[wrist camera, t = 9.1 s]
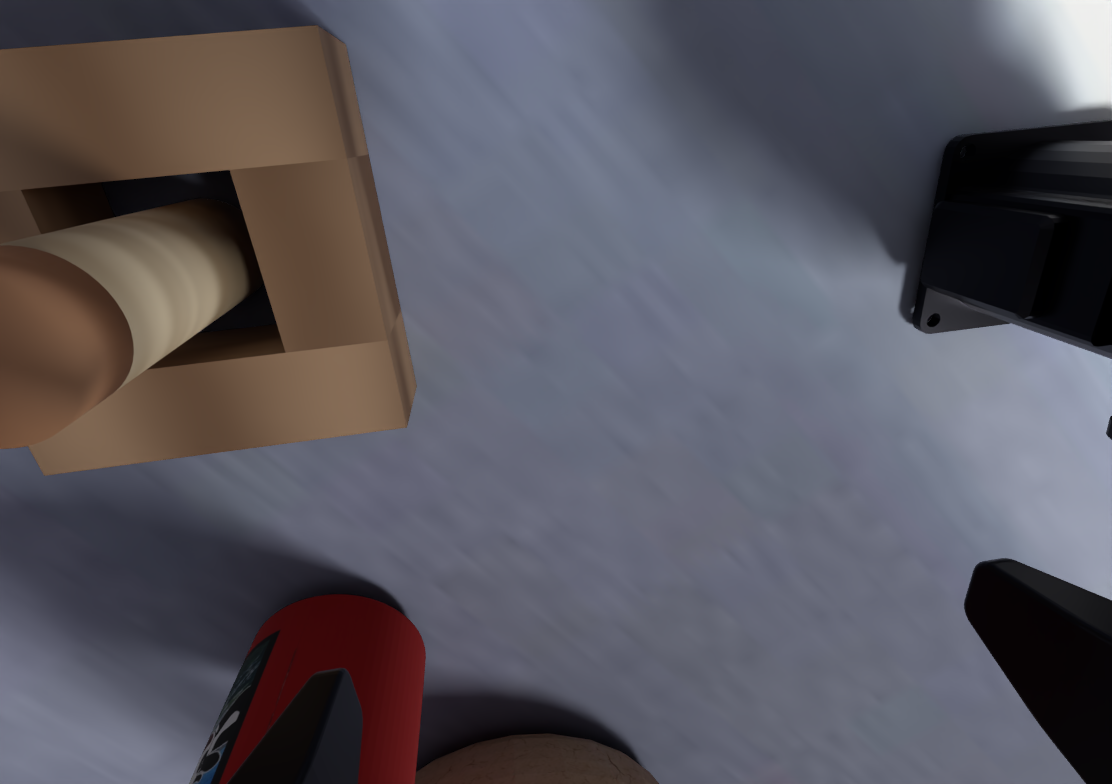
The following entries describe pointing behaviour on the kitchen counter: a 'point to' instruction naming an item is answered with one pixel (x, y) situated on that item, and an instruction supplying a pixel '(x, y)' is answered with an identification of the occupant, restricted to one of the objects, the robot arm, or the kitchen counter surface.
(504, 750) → the potted plant
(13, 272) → the wooden dowel
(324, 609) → the beverage can
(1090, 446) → the kitchen counter surface
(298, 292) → the square wooden frame
